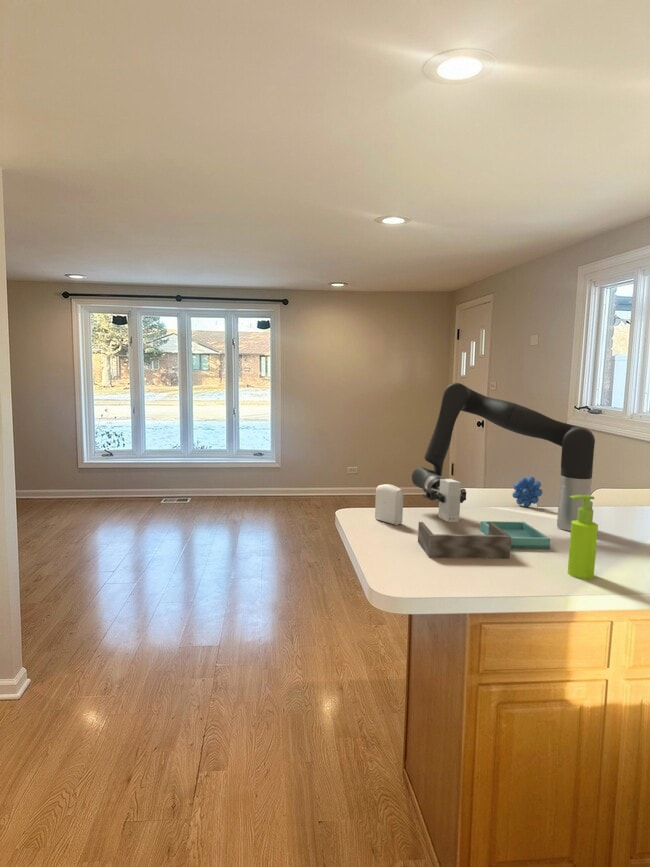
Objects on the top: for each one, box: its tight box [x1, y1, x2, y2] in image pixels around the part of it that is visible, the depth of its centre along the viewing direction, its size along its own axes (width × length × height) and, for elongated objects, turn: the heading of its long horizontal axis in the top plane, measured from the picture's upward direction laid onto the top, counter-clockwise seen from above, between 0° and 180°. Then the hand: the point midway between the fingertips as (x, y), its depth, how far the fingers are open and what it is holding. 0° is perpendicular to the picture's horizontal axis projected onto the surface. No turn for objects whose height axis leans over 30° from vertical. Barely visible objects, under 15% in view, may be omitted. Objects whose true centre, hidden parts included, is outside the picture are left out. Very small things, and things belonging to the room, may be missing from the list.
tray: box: [479, 520, 551, 550], centre depth 161 cm, size 14×18×3 cm
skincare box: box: [438, 478, 462, 523], centre depth 163 cm, size 6×4×12 cm
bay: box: [417, 521, 512, 559], centre depth 149 cm, size 22×14×6 cm, turn 93°
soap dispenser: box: [567, 495, 599, 580], centre depth 132 cm, size 6×7×20 cm
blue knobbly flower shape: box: [512, 476, 543, 508], centre depth 205 cm, size 12×7×12 cm, turn 42°
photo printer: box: [374, 483, 404, 526], centre depth 177 cm, size 10×4×12 cm, turn 39°
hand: (452, 499), depth 161 cm, fingers closed on skincare box, 5 cm apart
